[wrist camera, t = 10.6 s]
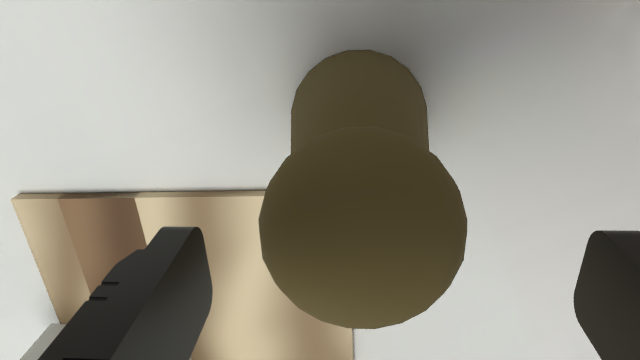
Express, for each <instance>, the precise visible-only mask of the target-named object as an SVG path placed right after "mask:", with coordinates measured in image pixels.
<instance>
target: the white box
mask: <svg viewBox="0 0 640 360" xmlns="http://www.w3.org/2000/svg"><path fill="white" fill-rule="evenodd" d="M65 326H66V324H50V326H49V327H48V328H47V329H46V330H45V331H44V332H43V334H42V335H41V336H40V337H39V338H38V339H37V341H36V342H35V343H34V344H33V345H32V346H31V347H30V349H29V350H28V351H27V352H26V353H25V354H24V356H23V357H22V358H21V359H20V360H38V359H39V357H40V356H41V355H42V354H43V352H44V351H45V350H46V349H47V348H48V346H49V345H50V344H51V343H52V341H53V340H54V339H55V338H56V337H57V335H58V334H59V333H60V332H61V330H62V329H63V328H64V327H65ZM189 360H192V359H191V357H190V359H189Z"/></svg>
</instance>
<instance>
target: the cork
mask: <svg viewBox="0 0 640 360" xmlns="http://www.w3.org/2000/svg"><path fill="white" fill-rule="evenodd" d="M258 221H259V234H260V243H261V251H262V259H263V260H264V262H265V264H266V266H267V268H268V270H269V272H270V274H271V276H272V278H273V280H274V282H275V284H276V285H277V286H278V287H279V289H280V290H281V291H282V292H283V293H284V294H285V295H286V296H287V297H288V298H289V299H290V300H291V301H292V302H293V303H294V304H295V305H296V306H297V307H298V308H299V309H300V310H302V311H304V312H306V313H308V314H309V315H311V316H313V317H315V318H316V319H318V320H320V321H322V322H326V323H330V324H333V325H337V326H341V327H344V328H355V329H377V328H382V327H386V326H391V325H395V324H400V323H403V322H405V321H407V320H409V319H411V318H412V317H414V316H416V315H418V314H420V313H422V312H424V311H426V310H427V309H428V308H429V307H430V306H431V305H432V304H433V303H434V302H435V301H436V300H437V299H438V298H440V297H441V296H442V295H443V294H444V293H445V291H446V290H447V289H448V287H449V286H450V285H451V283H452V281H453V279H454V277H455V275H456V273H457V272H458V270H459V268H460V266H461V264H462V262H463V260H464V252H465V244H466V236H467V217H466V213H465V209H464V206H463V202H462V198H461V194H460V191H459V189H458V187H457V185H456V183H455V181H454V180H453V178H452V177H451V176H450V174H449V173H448V171H447V170H446V169H445V167H444V166H443V164H442V163H441V162H440V160H439V159H438V158H437V156H435V155H434V154H433V153H431V152H430V151H429V140H428V123H427V107H426V103H425V100H424V96H423V93H422V89H421V86H420V85H419V84H418V82H417V81H416V79H415V78H414V76H413V75H412V73H411V72H410V71H409V69H407V68H406V67H405V66H403V65H402V64H400V63H399V62H398V61H396V60H395V59H394V58H392V57H391V56H387V55H384V54H381V53H377V52H374V51H371V50H354V51H345V52H342V53H339V54H336V55H334V56H331V57H328V58H325V59H324V60H323V61H322V62H320V63H319V64H318V65H317V66H315V67H314V68H313V69H312V70H310V71H309V72H308V73H307V75H306V76H305V78H304V79H303V81H302V82H301V84H300V86H299V87H298V89H297V90H296V94H295V98H294V102H293V106H292V110H291V155H290V156H288V157H287V158H286V159H285V161H284V162H283V163H282V165H281V166H280V168H279V169H278V171H277V172H276V174H275V175H274V176H273V178H272V179H271V181H270V183H269V185H268V187H267V189H266V191H265V195H264V199H263V203H262V207H261V211H260V215H259V219H258Z"/></svg>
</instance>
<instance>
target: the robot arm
mask: <svg viewBox="0 0 640 360" xmlns="http://www.w3.org/2000/svg"><path fill="white" fill-rule="evenodd" d="M212 295H213V288H212V280H211V275H210V269H209V264H208V259H207V253H206V248H205V242H204V237H203V233H202V231H201V229H200V228H199V227H172V226H164V227H162V228H161V229H160V230H159V231H158V232H157V233H156V235H155V236H154V237H153V239H152V240H151V241H150V243H149V244H148V245H147V247H146V248H145V249H137V250H136V251H134V252H133V253H131V254H130V255H128V256H127V257H125V258H124V259H122V260H121V261H120V262H118V263H117V264H115V266H114V267H113V268H112V269H111V270H110V272H109V273H108V274H107V275H106V277H105V278H104V279H103V280H102V281H101V285H98V286H97V288H96V289H95V290H94V291H93V292H92V294H91V295H90V296H89V300H88V301H85V302H84V303H83V305H82V306H81V307H80V308H79V310H78V311H77V312H76V313H75V314H74V316H73V317H72V318H71V319H70V321H69V322H68V323H67V324H66V326H65V327H64V328H63V329H62V330H61V332H60V333H59V334H58V335H57V337H56V338H55V339H54V340H53V341H52V343H51V344H50V345H49V346H48V348H47V349H46V350H45V351H44V352H43V354H42V355H41V356H40V357H39V359H38V360H189V359H190V357H191V354H192V352H193V350H194V347H195V345H196V343H197V340H198V338H199V336H200V333H201V331H202V329H203V326H204V324H205V322H206V319H207V317H208V315H209V312H210V309H211V304H212ZM574 309H575V313H576V317H577V319H578V322H579V324H580V326H581V327H582V329H583V330H584V332H585V334H586V335H587V337H588V338H589V340H590V342H591V343H592V345H593V346H594V348H595V350H596V351H597V353H598V354H599V356H600V358H601V359H602V360H640V231H595V232H593V233H592V234H591V236H590V238H589V240H588V243H587V247H586V251H585V254H584V258H583V262H582V265H581V269H580V273H579V276H578V280H577V284H576V288H575V292H574Z"/></svg>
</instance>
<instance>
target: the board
mask: <svg viewBox="0 0 640 360" xmlns="http://www.w3.org/2000/svg"><path fill="white" fill-rule="evenodd" d="M264 195H265V191H196V192H124V193H52V194H18V195H17V196H15V197H14V198H12V199H11V201H12V204H13V206H14V209H15V211H16V214H17V216H18V219H19V221H20V224H21V226H22V229H23V231H24V234H25V237H26V239H27V242H28V244H29V247H30V249H31V252H32V254H33V257H34V259H35V262H36V264H37V267H38V269H39V272H40V274H41V277H42V279H43V282H44V284H45V287H46V289H47V292H48V294H49V297H50V299H51V302H52V304H53V307H54V309H55V312H56V314H57V317H58V319H59V322H60V324H67V323H68V322H69V321H70V319H71V318H72V317H73V316H74V314H75V313H76V312H77V311H78V310H79V308H80V307H81V306H82V305H83V303H84V302H85V301H88V300H89V296H90V295H91V294H92V292H93V291H94V290H95V289H96V288H97V286H98V285H101V281H102V280H103V279H104V278H105V277H106V275H107V274H108V273H109V272H110V270H111V269H112V268H113V267H114V266H115V264H117V263H118V262H120V261H121V260H122V259H124V258H125V257H127V256H128V255H130V254H131V253H133V252H134V251H136V250H137V249H145V248H146V247H147V245H148V244H149V243H150V241H151V240H152V239H153V237H154V236H155V235H156V233H157V232H158V231H159V230H160V229H161V228H162V227H164V226H172V227H199V228H200V229H201V231H202V233H203V237H204V242H205V248H206V253H207V259H208V264H209V269H210V275H211V280H212V288H213V295H212V304H211V309H210V312H209V315H208V317H207V319H206V322H205V324H204V326H203V329H202V331H201V333H200V336H199V338H198V340H197V343H196V345H195V347H194V350H193V352H192V354H191V359H192V360H353V332H352V328H344V327H341V326H337V325H333V324H330V323H326V322H322V321H320V320H318V319H316V318H315V317H313V316H311V315H309V314H308V313H306V312H304V311H302V310H300V309H299V308H298V307H297V306H296V305H295V304H294V303H293V302H292V301H291V300H290V299H289V298H288V297H287V296H286V295H285V294H284V293H283V292H282V291H281V290H280V289H279V287H278V286H277V285H276V284H275V282H274V280H273V278H272V276H271V274H270V272H269V270H268V268H267V266H266V264H265V262H264V260H263V259H262V251H261V243H260V234H259V221H258V219H259V215H260V211H261V207H262V203H263V199H264Z"/></svg>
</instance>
